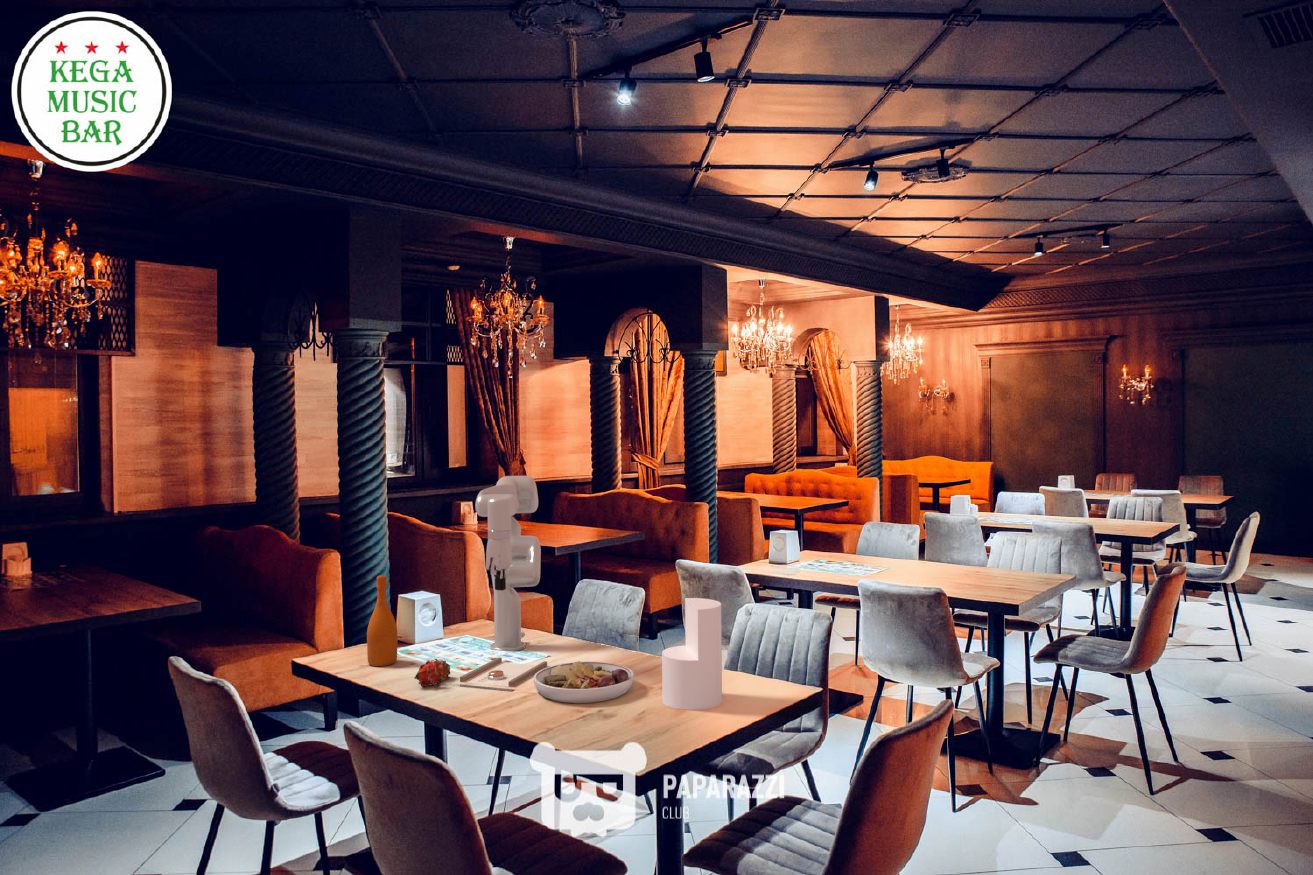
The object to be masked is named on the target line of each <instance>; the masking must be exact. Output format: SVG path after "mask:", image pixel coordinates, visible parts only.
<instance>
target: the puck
mask: <svg viewBox="0 0 1313 875" xmlns="http://www.w3.org/2000/svg"><path fill="white" fill-rule="evenodd" d="M487 679H488V680H489V681H499V680H504V679H505V675H504V673H503V671H500V670H495V671H490V672H489V675H488V676H487Z"/></svg>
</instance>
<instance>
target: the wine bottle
mask: <svg viewBox="0 0 1313 875" xmlns="http://www.w3.org/2000/svg"><path fill="white" fill-rule="evenodd" d="M387 581H388V576H386V575H384V574H381V575H378V576H377V577H376V589H377V598H376V603H375V607H374V609H373V612H372V614H371V616H370V619H369V621H368V622H369V623H368V626H367V631H366V646H367V647H366V652H367V653H366V654H367V663H368V665H370V666H372V667H373V666H374V667H386V666H391V665H392V664H395V663H396V662H397V660H398V626H397V623H396V620H395V617H394V615H393V613H392V611H391V608H390V606H389V603H388V598H387V588H388V582H387Z"/></svg>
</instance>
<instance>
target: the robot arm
mask: <svg viewBox="0 0 1313 875" xmlns="http://www.w3.org/2000/svg"><path fill="white" fill-rule="evenodd" d="M495 484H496V485H494V486H490V487H487V488H484V489H482V490H480V491H479V493H478V494H477V496H476V499H475V505H474V506H475V512H476V514H477V515H478V516H479V517H482V518H483V517H484V518H486V517H487V543H486V552H485V556H486V557H485V569H486V571H490V575H491V581H492V587H493V589H492V590H493V600H494V601H493V621H494V622H493V623H494V625H493V626H494V628H493V629H494V630H493V631H494V632H493V633H494V643H493V642H492V643H491V644H490V646H489V647H490V650H492V651H504V652H517V651H521V650H523V649H525V647H526V643H525V641H524V642H523V641H522V638H524V637H525V636H526V633H525V632H524V631H522V614H521V613H522V606H521V605H522V602H521V596H520V595H519V593H518V592H517V590H515V589H514V588H525V587H527V588H528V587H531V588H532V587H536V586H537V585H539V583H540V579H541V559H542V558H541V556H542V555H541V554H542V552H541V551H542V549H541V542H540V539H539V538H538V537H537V536H535V535H522V526H521V524H520V523H519V522H518V520H517V519H516V518H515V517H514V515H516V514H532V513H535V512H536V511H537V509H538V507H539V496H538V488H537V484H536V481H535V479H534V478H533V477H532V476H530V475H506V476H502V477H501V478H499V479H498V481H496V483H495Z"/></svg>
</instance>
